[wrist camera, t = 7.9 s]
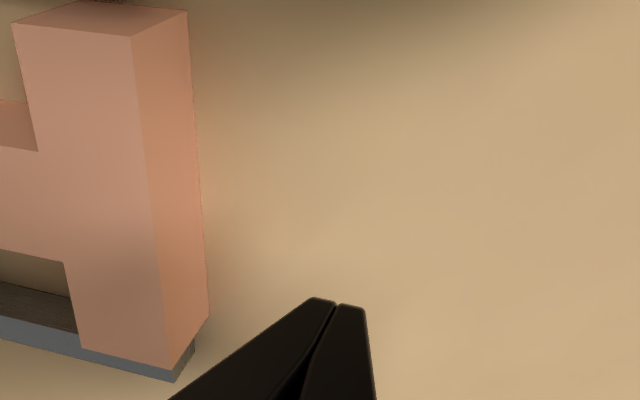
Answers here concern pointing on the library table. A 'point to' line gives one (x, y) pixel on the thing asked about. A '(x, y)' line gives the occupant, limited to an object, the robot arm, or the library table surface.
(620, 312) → the library table surface
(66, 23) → the t block
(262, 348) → the robot arm
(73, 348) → the fence
